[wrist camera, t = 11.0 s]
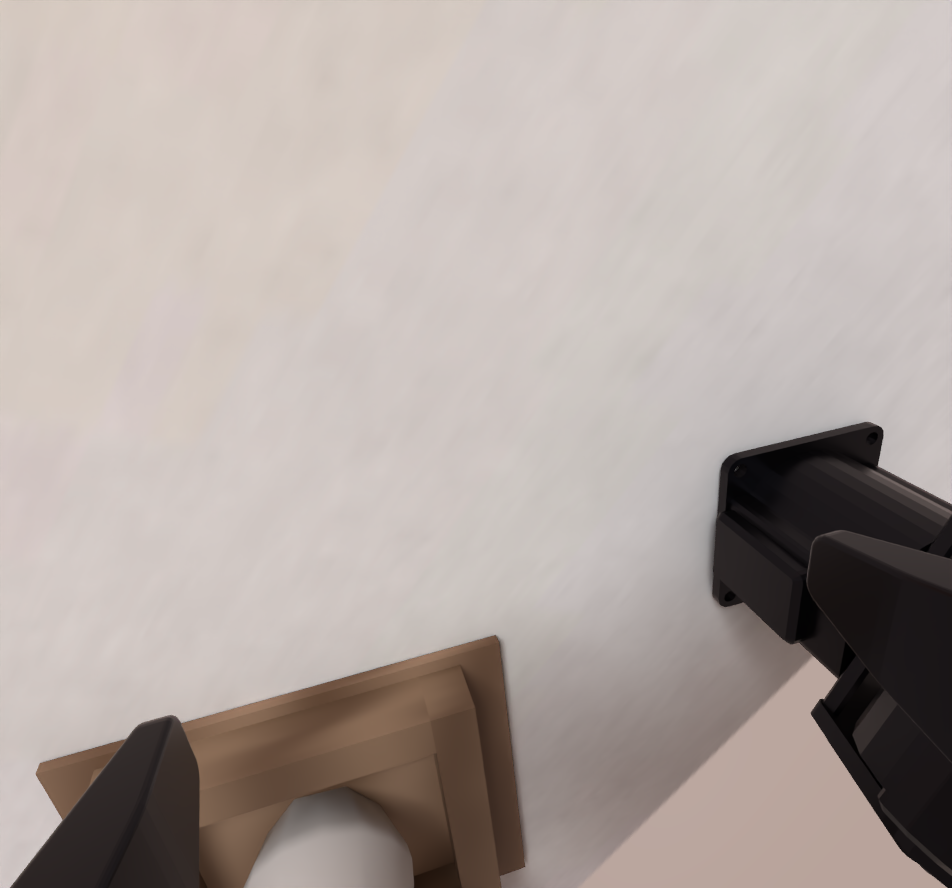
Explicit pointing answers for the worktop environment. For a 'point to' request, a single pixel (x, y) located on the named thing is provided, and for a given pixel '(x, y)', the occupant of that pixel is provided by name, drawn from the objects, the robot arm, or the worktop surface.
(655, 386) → the worktop surface
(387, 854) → the salt shaker
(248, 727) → the brown flat rectangular frame
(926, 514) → the robot arm
